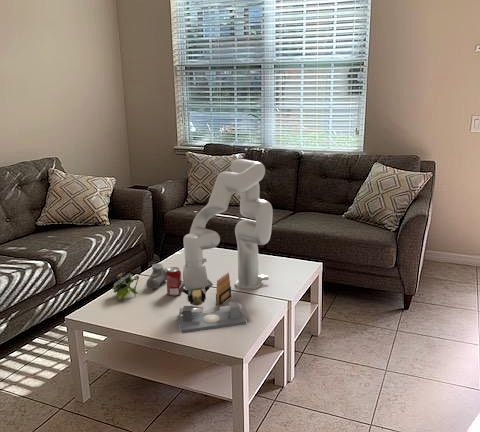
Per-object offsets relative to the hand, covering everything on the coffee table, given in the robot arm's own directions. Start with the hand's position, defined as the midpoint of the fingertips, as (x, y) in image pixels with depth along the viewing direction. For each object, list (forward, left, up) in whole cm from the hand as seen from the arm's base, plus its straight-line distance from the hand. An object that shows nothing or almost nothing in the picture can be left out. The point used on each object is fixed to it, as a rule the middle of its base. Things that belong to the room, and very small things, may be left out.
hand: (197, 301), depth 219 cm
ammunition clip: (-12, -3, -3) cm, 13 cm away
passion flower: (+29, -21, -3) cm, 35 cm away
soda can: (+8, -17, -3) cm, 18 cm away
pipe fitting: (+15, -29, -3) cm, 32 cm away
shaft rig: (-3, +15, -2) cm, 16 cm away
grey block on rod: (+4, +13, -1) cm, 14 cm away
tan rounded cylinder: (0, 0, -1) cm, 1 cm away
